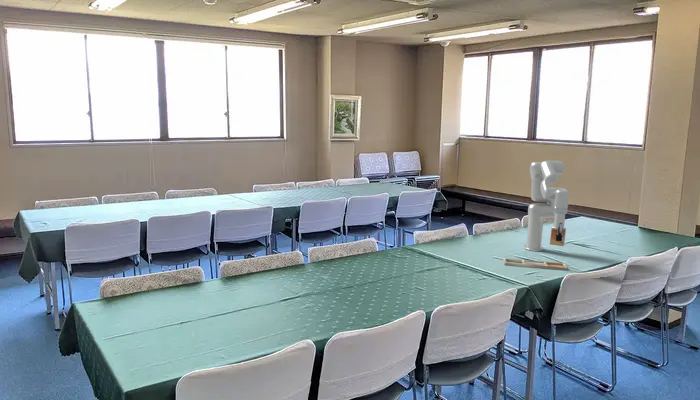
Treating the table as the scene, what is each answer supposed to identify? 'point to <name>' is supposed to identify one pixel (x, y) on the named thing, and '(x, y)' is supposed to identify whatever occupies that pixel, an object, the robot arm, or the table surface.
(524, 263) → the rail frame
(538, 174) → the robot arm
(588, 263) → the table surface
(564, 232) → the small box
